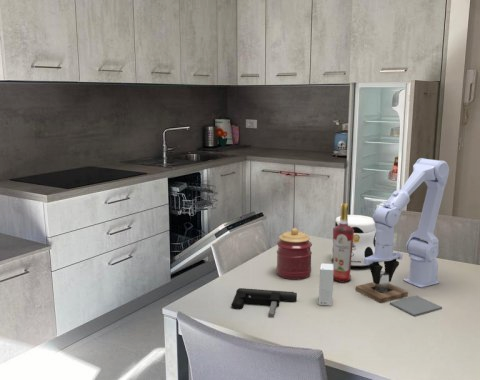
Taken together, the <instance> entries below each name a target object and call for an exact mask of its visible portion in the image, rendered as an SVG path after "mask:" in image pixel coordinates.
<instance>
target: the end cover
mask: <svg viewBox="0 0 480 380" xmlns="http://www.w3.org/2000/svg"><path fill="white" fill-rule="evenodd" d="M389 283H390V282H389V273H388V272H385V270H381V273H380V281H379V284H375V289H376V291H378V292H382V293H384V292H387V291H388V288H389Z"/></svg>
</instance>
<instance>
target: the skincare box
mask: <svg viewBox="0 0 480 380" xmlns="http://www.w3.org/2000/svg"><path fill="white" fill-rule="evenodd" d="M333 271H334V265H333V263H320V268H319V287H318V288H319V289H318V305H319V306H332V305H333V293H334V292H333V291H334V289H333V288H334V287H333V286H334V278H333Z"/></svg>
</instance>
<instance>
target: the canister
mask: <svg viewBox="0 0 480 380" xmlns="http://www.w3.org/2000/svg"><path fill="white" fill-rule="evenodd" d="M278 237H279V240H278V241H277V242H276V246H277V250H276V274H277V275H278V276H279V277H280V278H283V279H288V280H303V279H306V278H309V277H310V276H311V273H312V255H313V254H312V252H313V251H312V250H311V247H312V245H313V243H312V242H311V241H310V239H311V238H310V236H309V235H307V234H306V233H305V232H303V231H299V229H298V228H296V227H294V228H291V231H290V230H289V231H285V232H284V233H282V234H280V235H279V236H278Z"/></svg>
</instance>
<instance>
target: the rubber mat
mask: <svg viewBox="0 0 480 380" xmlns="http://www.w3.org/2000/svg"><path fill="white" fill-rule="evenodd" d="M389 305H391V306H392V307H394V308H396V309H398V310H400V311H403V312H404V313H406V314H407V315H408V314H409V316H412V317H417V316H422V315H425V314H429V313H432V312H435V311H439V310H442V309H443V306H441V305H440V304H439V305H438V304H436V303H434V302H432V301H430V300H428V299H425V298H423V297H421V296H419V295H414V296H411V297H410V296H409V297H405V298H403V299H402V298H401V299H397V300H395V301H394V300H393V301H389Z"/></svg>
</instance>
